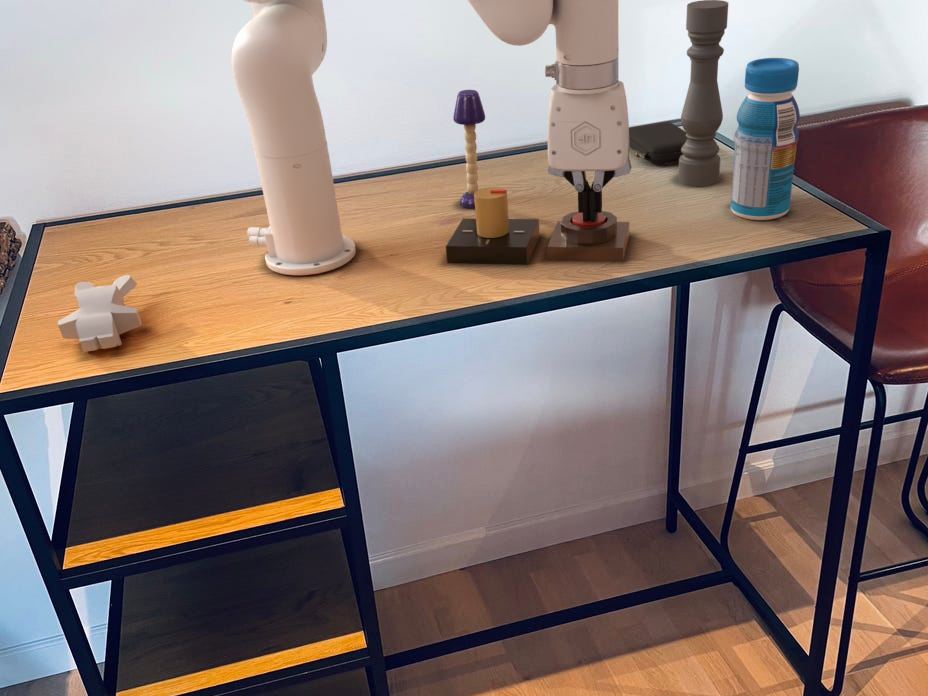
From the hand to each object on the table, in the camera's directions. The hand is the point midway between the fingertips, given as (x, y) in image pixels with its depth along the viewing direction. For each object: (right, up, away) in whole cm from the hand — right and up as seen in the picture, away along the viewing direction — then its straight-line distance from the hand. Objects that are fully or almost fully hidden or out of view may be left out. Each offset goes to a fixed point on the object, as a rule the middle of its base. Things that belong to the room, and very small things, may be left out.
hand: (590, 217), depth 132 cm
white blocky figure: (-62, -16, -7) cm, 64 cm away
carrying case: (+15, +19, +33) cm, 41 cm away
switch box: (0, -4, +3) cm, 4 cm away
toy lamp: (-15, +7, +20) cm, 26 cm away
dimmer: (-13, -3, +5) cm, 14 cm away
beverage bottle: (+25, +3, +9) cm, 27 cm away
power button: (0, -2, +1) cm, 2 cm away
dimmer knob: (-13, -1, +3) cm, 13 cm away
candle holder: (+19, +11, +21) cm, 30 cm away
